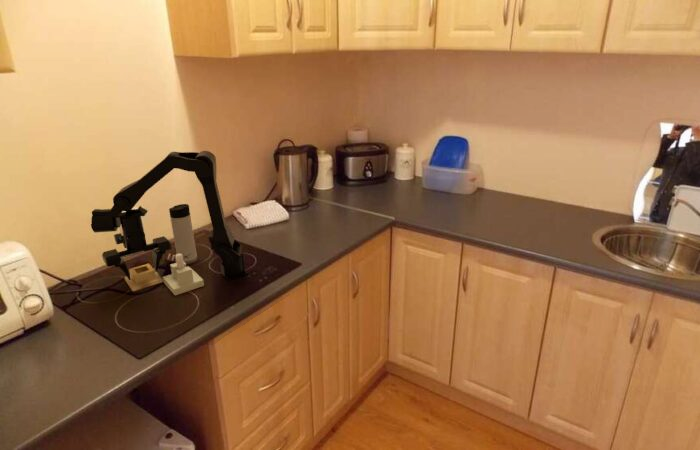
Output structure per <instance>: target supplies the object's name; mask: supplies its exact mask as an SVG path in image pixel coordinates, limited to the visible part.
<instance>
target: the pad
mask: <svg viewBox="0 0 700 450" xmlns="http://www.w3.org/2000/svg"><path fill="white" fill-rule="evenodd" d="M155 274H156V279H154V280H151V281H148V282H144V283H141V284H138V285H136V284H135V282H134V281H133V280H132V278H131V276H130V279H131V280H129V279H128V278H127V276H125V277H123V278H124V280H125V282H126V283H127V285H128V287H129V288H130V289H131V291H132V292H136V291H139V290H142V289H146V288H148V287H152V286H154V285H158V284H161V283H164V281H163V277H162V276H160V274H159V272H158V271H157V272H155Z"/></svg>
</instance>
